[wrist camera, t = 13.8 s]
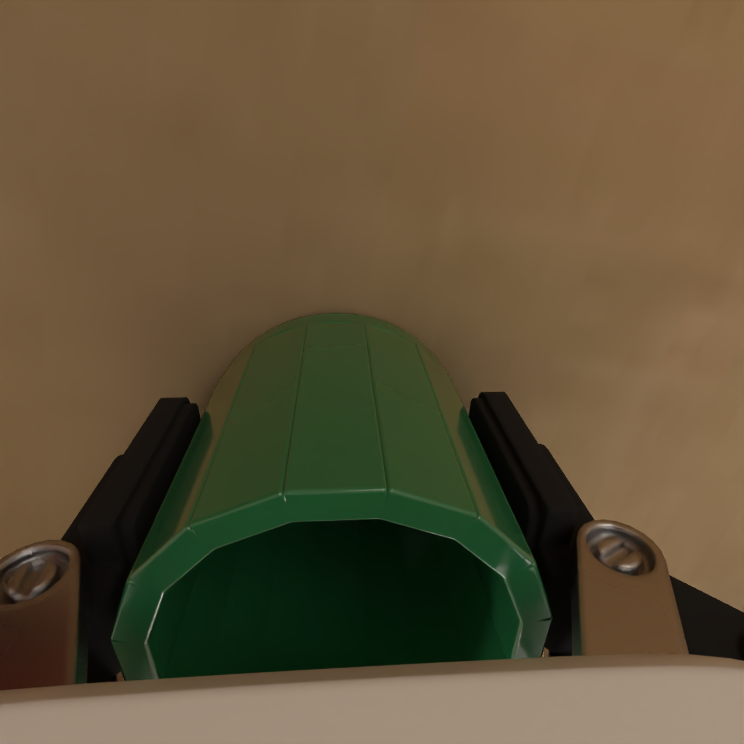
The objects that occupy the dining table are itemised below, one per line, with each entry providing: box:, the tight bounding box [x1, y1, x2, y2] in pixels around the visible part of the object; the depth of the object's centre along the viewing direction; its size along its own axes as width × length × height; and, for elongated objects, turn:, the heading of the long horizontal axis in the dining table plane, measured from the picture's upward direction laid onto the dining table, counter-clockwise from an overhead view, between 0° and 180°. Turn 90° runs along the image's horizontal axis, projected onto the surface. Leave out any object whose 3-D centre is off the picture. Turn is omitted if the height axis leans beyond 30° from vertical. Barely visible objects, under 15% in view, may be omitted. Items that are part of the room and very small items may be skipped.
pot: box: [110, 313, 552, 681], centre depth 10 cm, size 6×6×6 cm
